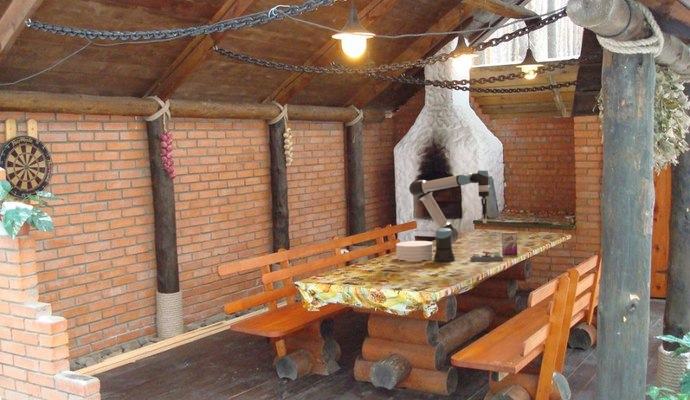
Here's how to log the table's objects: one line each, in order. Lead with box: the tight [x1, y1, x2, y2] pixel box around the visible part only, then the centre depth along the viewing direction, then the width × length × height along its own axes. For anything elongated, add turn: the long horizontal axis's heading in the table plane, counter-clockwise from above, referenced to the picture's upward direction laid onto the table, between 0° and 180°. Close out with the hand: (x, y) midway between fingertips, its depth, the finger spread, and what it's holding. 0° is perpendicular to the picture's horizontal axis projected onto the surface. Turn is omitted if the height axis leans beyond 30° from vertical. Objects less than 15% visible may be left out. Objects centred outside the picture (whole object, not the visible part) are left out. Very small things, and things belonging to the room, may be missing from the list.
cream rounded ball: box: [473, 252, 480, 257], centre depth 493 cm, size 4×4×4 cm
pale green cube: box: [493, 250, 501, 256], centre depth 490 cm, size 4×4×4 cm
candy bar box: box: [501, 231, 518, 255], centre depth 514 cm, size 11×5×16 cm, turn 74°
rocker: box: [482, 250, 491, 255], centre depth 492 cm, size 6×4×2 cm
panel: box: [469, 253, 504, 262], centre depth 492 cm, size 23×8×4 cm, turn 78°
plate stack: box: [395, 240, 435, 262], centre depth 515 cm, size 28×28×12 cm
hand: (484, 222), depth 497 cm, fingers closed
